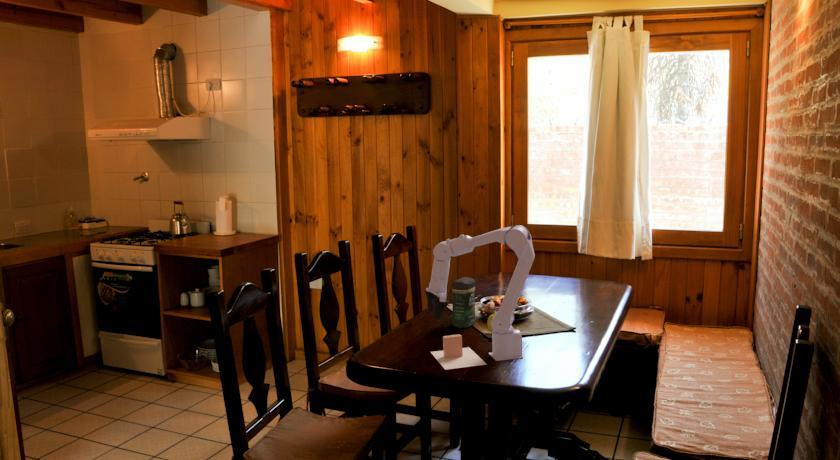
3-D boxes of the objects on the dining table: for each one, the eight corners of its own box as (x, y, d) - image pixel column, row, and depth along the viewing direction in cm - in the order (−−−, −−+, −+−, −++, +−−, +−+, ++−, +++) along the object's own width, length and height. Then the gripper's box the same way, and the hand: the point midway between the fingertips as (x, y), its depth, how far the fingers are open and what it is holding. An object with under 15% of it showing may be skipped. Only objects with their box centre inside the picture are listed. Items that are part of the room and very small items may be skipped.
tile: (460, 354, 226) (460, 334, 225) (462, 356, 224) (461, 336, 223) (443, 356, 225) (442, 336, 224) (445, 358, 223) (444, 338, 222)
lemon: (501, 331, 251) (500, 310, 250) (503, 336, 245) (503, 314, 244) (486, 332, 251) (486, 311, 249) (488, 336, 245) (488, 315, 244)
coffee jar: (467, 329, 255) (466, 281, 252) (449, 327, 259) (447, 280, 256) (479, 323, 263) (478, 276, 260) (461, 320, 267) (460, 274, 264)
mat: (469, 348, 233) (469, 347, 233) (486, 365, 216) (486, 364, 216) (430, 353, 230) (430, 351, 230) (445, 370, 212) (445, 369, 212)
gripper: (422, 270, 231) (417, 307, 234) (434, 282, 218) (428, 322, 220) (442, 271, 233) (436, 308, 236) (454, 284, 219) (448, 323, 222)
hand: (433, 315), depth 228 cm, fingers open, 7 cm apart
